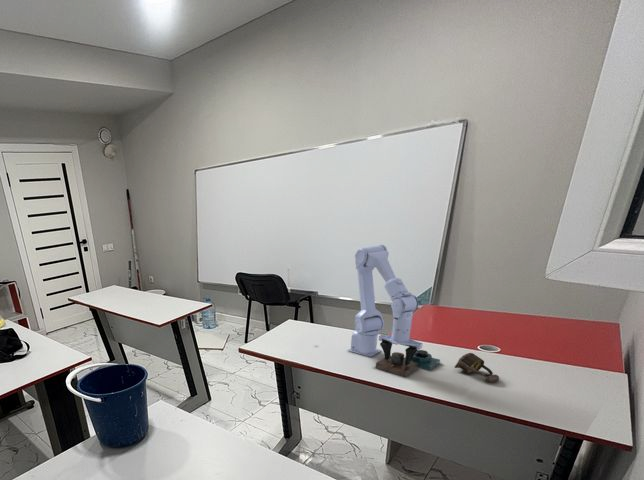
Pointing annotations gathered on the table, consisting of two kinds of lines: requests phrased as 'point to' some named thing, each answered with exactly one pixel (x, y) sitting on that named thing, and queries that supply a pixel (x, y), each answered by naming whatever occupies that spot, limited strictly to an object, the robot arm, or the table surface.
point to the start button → (421, 353)
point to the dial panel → (397, 367)
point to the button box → (425, 361)
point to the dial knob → (397, 358)
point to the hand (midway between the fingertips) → (397, 361)
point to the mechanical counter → (475, 366)
